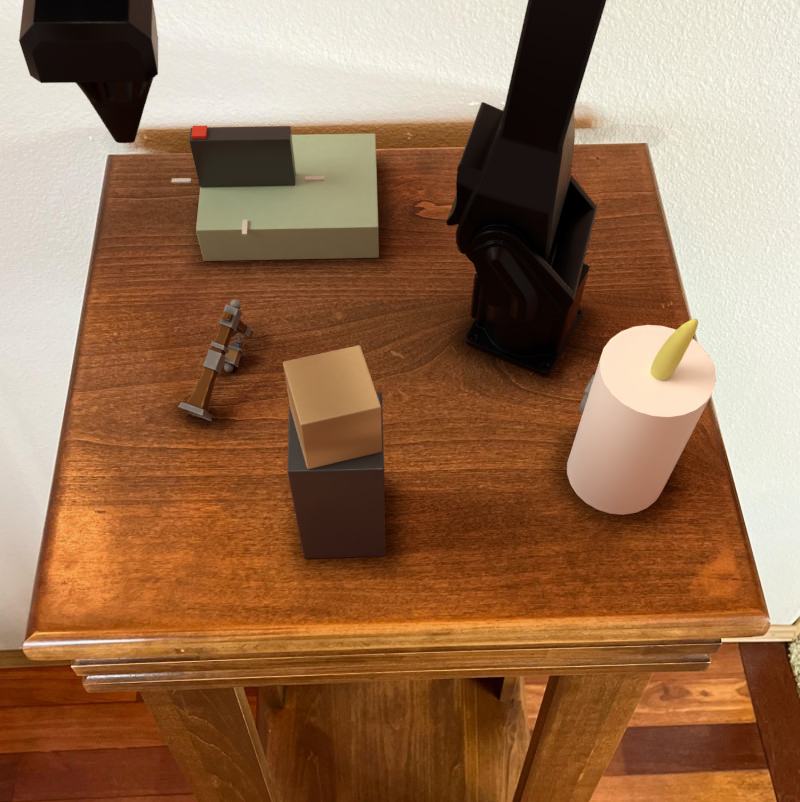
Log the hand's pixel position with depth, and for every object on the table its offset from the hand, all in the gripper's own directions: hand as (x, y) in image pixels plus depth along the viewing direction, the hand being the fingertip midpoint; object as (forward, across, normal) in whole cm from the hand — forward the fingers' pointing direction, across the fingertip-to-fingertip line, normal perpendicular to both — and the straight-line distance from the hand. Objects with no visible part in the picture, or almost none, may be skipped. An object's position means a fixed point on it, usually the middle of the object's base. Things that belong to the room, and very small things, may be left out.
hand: (126, 89), depth 55 cm
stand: (+12, +25, +11) cm, 30 cm away
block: (+2, +24, +11) cm, 27 cm away
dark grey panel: (+10, -3, +7) cm, 13 cm away
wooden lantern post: (+13, +13, +4) cm, 19 cm away
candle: (+11, +23, +29) cm, 39 cm away
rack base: (+13, -3, +9) cm, 16 cm away
